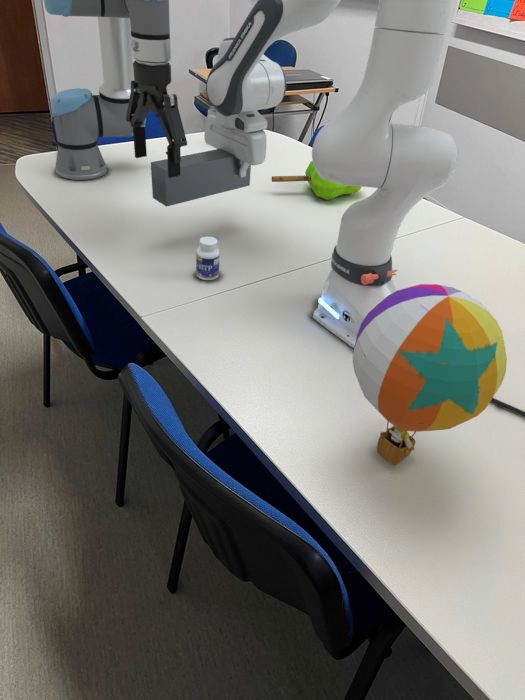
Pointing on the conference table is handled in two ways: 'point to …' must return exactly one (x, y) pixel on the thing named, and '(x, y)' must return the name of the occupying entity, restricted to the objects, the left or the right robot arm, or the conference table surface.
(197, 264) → the pill bottle
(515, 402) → the conference table surface
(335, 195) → the decorative tree
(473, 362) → the toy
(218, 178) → the bar
